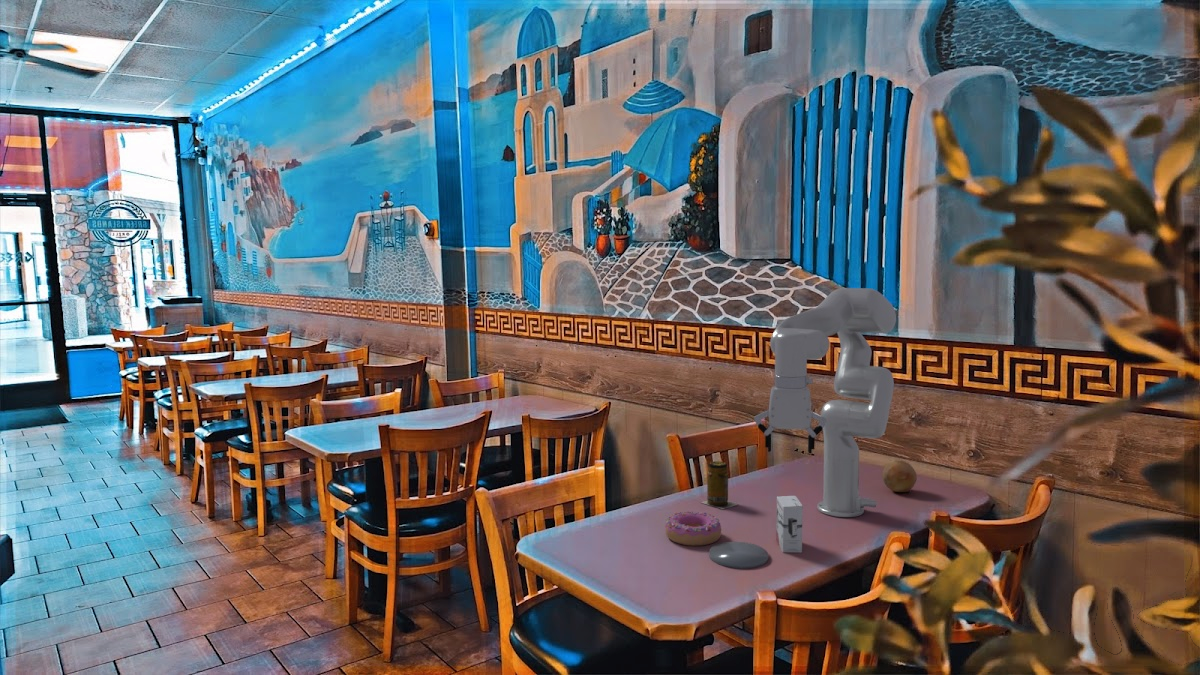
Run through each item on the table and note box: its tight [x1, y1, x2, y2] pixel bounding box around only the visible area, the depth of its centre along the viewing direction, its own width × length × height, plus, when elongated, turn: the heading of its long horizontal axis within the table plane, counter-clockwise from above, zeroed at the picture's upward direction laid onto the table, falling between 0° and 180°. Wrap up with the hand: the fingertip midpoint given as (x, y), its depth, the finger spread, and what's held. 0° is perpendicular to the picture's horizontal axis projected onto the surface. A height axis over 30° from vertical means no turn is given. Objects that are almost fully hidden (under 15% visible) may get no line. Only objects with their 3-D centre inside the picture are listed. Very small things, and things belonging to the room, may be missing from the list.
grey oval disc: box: [708, 541, 769, 569], centre depth 182 cm, size 14×14×1 cm
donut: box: [664, 511, 722, 547], centre depth 195 cm, size 14×14×5 cm
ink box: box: [775, 495, 804, 553], centre depth 187 cm, size 9×5×12 cm, turn 178°
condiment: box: [700, 461, 739, 510], centre depth 220 cm, size 7×8×12 cm
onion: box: [882, 459, 918, 493], centre depth 229 cm, size 10×10×10 cm
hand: (789, 451), depth 185 cm, fingers open, 9 cm apart
